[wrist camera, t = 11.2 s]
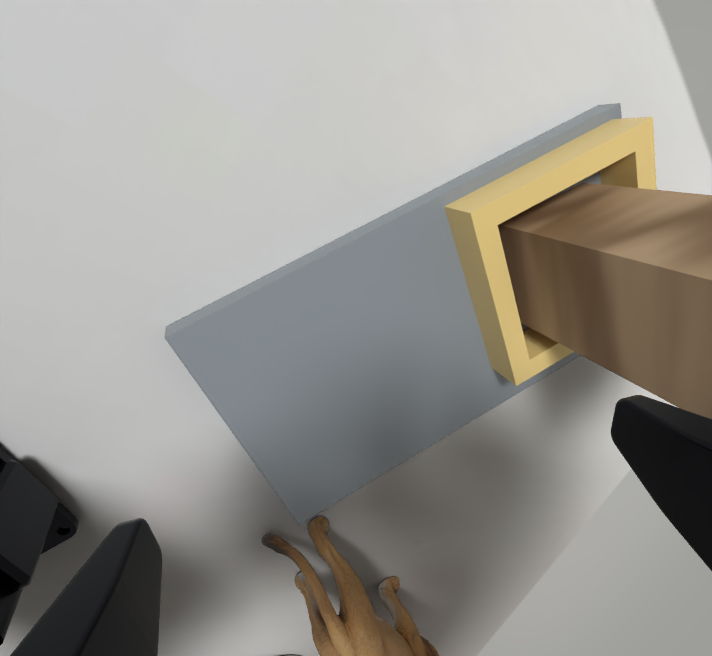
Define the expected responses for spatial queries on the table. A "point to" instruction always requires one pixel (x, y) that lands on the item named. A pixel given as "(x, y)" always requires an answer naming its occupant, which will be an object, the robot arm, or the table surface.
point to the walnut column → (621, 283)
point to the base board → (396, 321)
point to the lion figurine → (350, 606)
